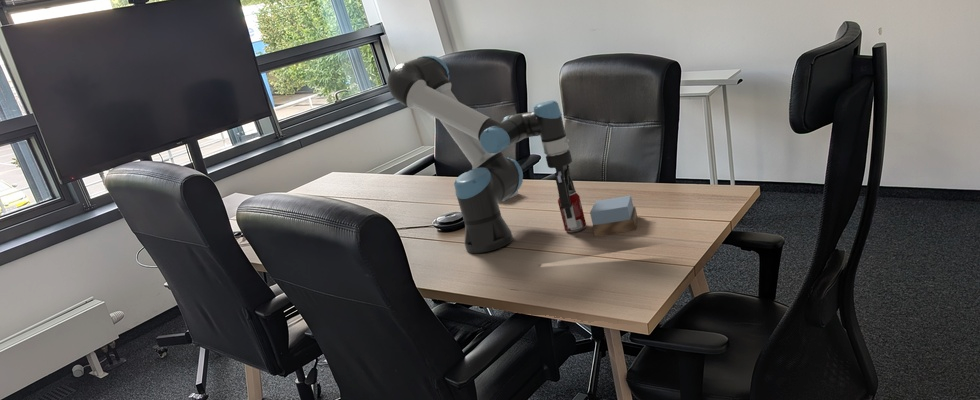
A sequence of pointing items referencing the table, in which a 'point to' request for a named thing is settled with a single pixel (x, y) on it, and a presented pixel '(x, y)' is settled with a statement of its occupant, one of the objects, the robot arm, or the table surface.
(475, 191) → the robot arm
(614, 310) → the table surface
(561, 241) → the table surface
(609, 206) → the top block
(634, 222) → the base block
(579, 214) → the soda can
